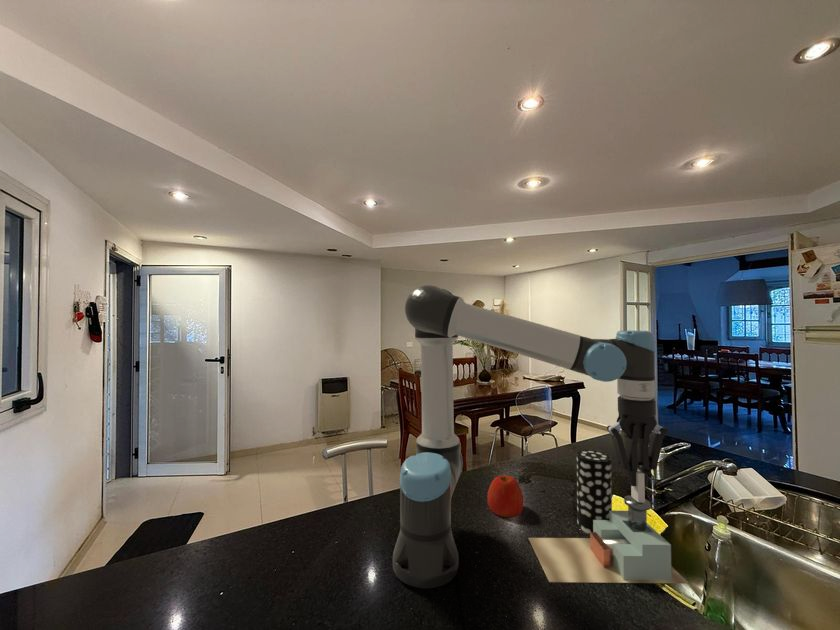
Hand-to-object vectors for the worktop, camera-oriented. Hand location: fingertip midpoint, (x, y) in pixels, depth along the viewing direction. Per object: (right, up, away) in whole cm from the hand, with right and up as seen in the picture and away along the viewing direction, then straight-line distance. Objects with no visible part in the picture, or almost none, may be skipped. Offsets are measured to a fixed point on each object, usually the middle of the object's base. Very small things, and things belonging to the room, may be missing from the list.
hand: (638, 499), depth 81 cm
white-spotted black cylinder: (-4, -15, +12) cm, 20 cm away
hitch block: (-2, -14, 0) cm, 14 cm away
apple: (-25, -15, +21) cm, 37 cm away
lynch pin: (-3, -14, 0) cm, 14 cm away
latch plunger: (0, -6, 0) cm, 6 cm away
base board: (-9, -15, 0) cm, 17 cm away
